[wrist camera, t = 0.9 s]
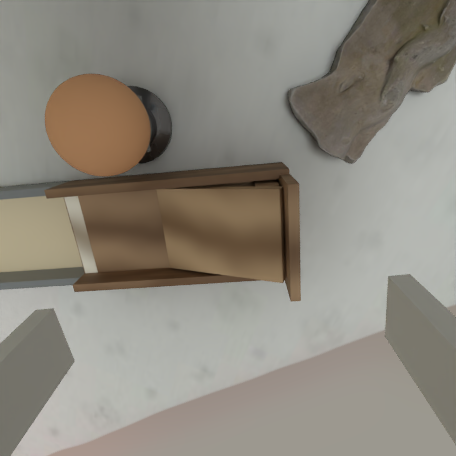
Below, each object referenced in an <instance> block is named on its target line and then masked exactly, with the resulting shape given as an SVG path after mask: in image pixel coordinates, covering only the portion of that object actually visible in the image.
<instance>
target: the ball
mask: <svg viewBox="0 0 456 456" xmlns="http://www.w3.org/2000/svg"><path fill="white" fill-rule="evenodd" d="M45 126H46V131H47V134H48V137H49V140H50V142H51V144H52V146H53V147H54V149H55V150H56V152H57V153H58V154H59V155H60V156H61V158H62V159H63V160H65V161H66V162H67V163H68V164H69V165H71V166H72V167H74V168H76V169H77V170H79V171H82V172H84V173H87V174H90V175H94V176H114V175H118V174H121V173H124V172H126V171H128V170H130V169H131V168H133V167H134V166H135V165H136V164H138V163H139V161H140V160H141V159H142V158H143V156H144V154H145V153H146V151H147V148H148V146H149V142H150V136H151V128H150V121H149V117H148V114H147V111H146V109H145V107H144V105H143V104H142V102H141V100H140V99H139V98H138V97H137V95H136V94H135V93H134V92H133V91H132V90H131V89H130V88H129V87H127V86H126V85H125V84H123V83H121V82H119V81H118V80H116V79H114V78H111V77H108V76H104V75H100V74H83V75H78V76H75V77H72V78H70V79H68V80H66V81H65V82H63V83H62V84H60V85H59V86H58V87H57V88H56V89H55V91H54V92H53V94H52V95H51V97H50V99H49V101H48V103H47V106H46V111H45Z"/></svg>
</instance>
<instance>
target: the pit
mask: <svg viewBox="0 0 456 456" xmlns="http://www.w3.org/2000/svg"><path fill="white" fill-rule="evenodd" d="M66 182H69V181H64V182H52V183H41V184H30V185H18V186H7V187H0V290H2V289H17V288H33V287H48V286H64V285H73V284H74V283H75V282H76V281H77V280H78V279H79V278H80V277H81V276H82V275H83V274H84V269H83V266H82V262H81V258H80V255H79V251H78V248H77V244H76V241H75V237H74V234H73V230H72V226H71V223H70V219H69V216H68V212H67V209H66V205H65V202H64V198H63V197H61V198H49V199H47V198H46V195H45V191H44V190H46V189H49V188H52V187H54V186H57V185H60V184H63V183H66Z"/></svg>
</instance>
